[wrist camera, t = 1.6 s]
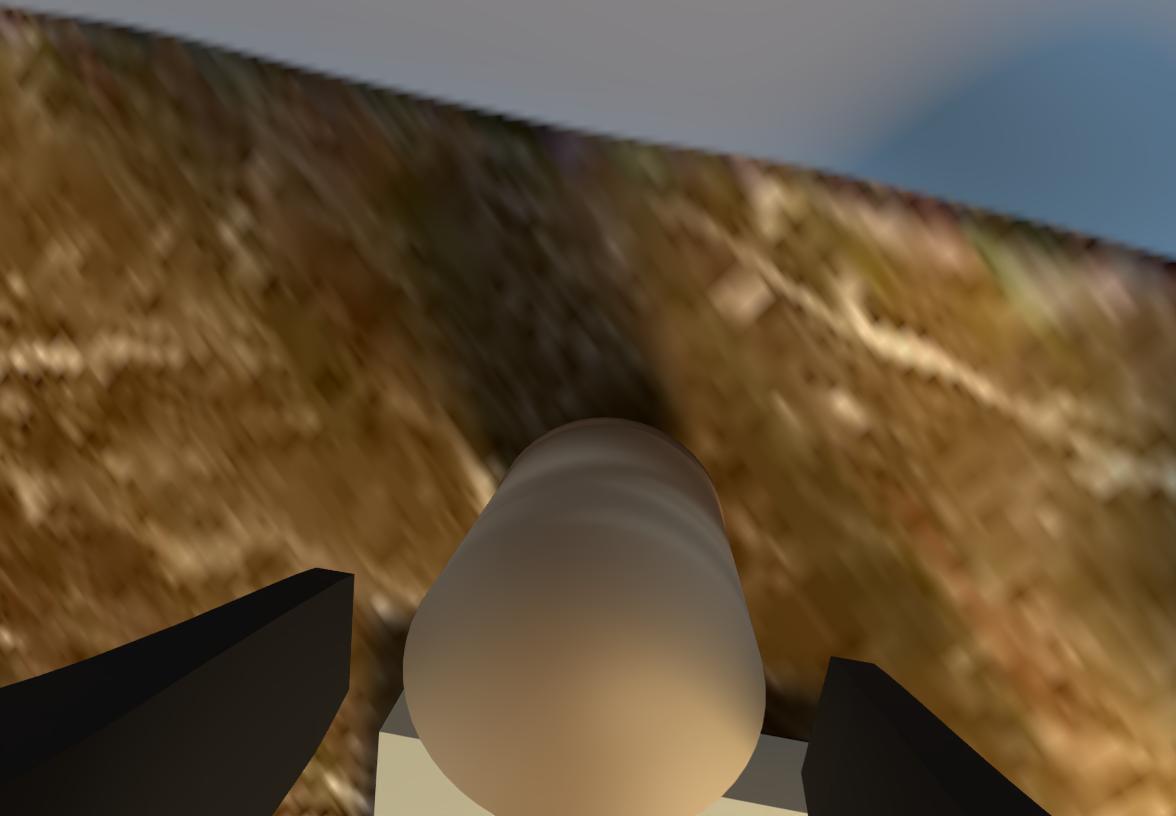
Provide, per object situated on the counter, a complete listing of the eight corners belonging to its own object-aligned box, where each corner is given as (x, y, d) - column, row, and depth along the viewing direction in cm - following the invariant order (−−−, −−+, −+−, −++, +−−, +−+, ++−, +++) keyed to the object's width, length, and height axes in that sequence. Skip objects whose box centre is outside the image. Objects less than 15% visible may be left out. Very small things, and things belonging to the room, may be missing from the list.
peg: (730, 412, 16) (806, 555, 8) (694, 598, 17) (731, 876, 9) (526, 381, 16) (411, 490, 8) (505, 565, 17) (389, 808, 10)
